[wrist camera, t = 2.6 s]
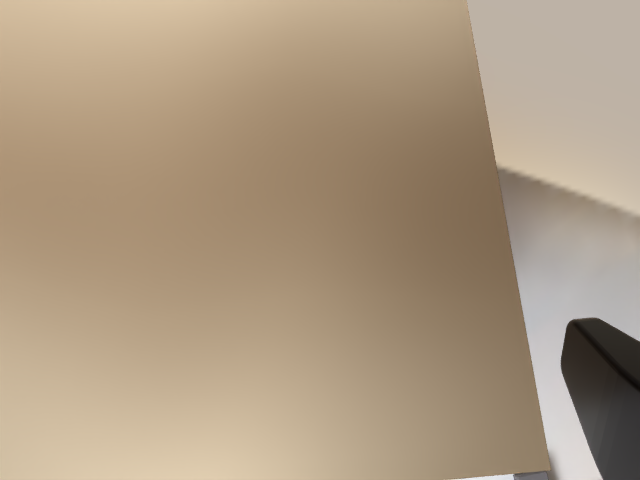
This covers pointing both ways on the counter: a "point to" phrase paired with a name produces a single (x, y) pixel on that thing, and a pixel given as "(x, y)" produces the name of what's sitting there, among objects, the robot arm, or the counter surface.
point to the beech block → (254, 246)
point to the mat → (532, 476)
